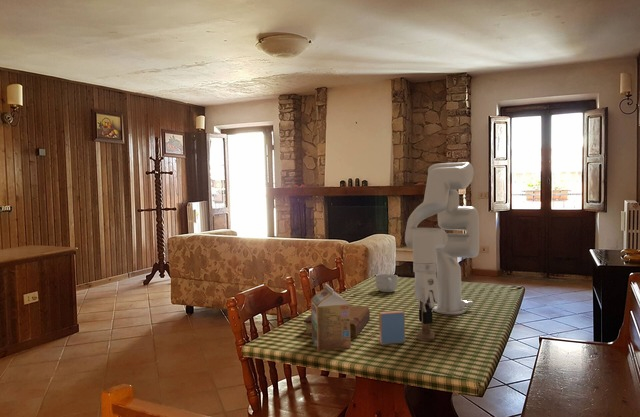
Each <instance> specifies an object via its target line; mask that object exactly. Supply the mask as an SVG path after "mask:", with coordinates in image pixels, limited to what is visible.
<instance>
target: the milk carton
mask: <svg viewBox="0 0 640 417" xmlns="http://www.w3.org/2000/svg"><path fill="white" fill-rule="evenodd" d="M324 286H325V288H323V289H321V290H320V291H318V292H317V293H315V294H314V295H313V296H312V297H311V298H310V309H311V310H310V312H311V313H310V315H311V322H312V335H311V341H312V343H313V344H314V346H315V348H316V349H317V351H319V352H320V351H330V350H341V349H350V348H351V347H352V346H351V340H352V338H350V306H351V305H350V303H349V302H348V301H347V300H346V299H344V298H343V297H342V296H341V295H340V294H339V293H337V291H335V290H334V288H332V287H331V286H330V285H329V284H327V283H325V285H324Z"/></svg>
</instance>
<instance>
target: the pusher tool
mask: <svg viewBox="0 0 640 417" xmlns="http://www.w3.org/2000/svg"><path fill="white" fill-rule="evenodd" d="M427 302H429V301H427ZM426 307H427V305H426ZM423 312H424V308H423V302H422V321H421V330H419V331H417V340H419V341H421V342H434V341H435V338H436V336H435V334H436V333H435V332H434V331H432V330H431V324H423Z"/></svg>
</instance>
